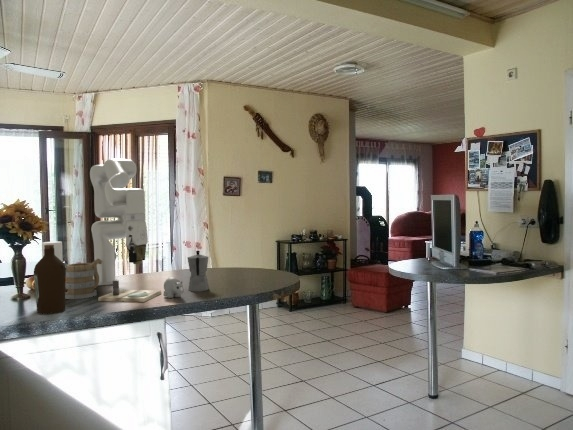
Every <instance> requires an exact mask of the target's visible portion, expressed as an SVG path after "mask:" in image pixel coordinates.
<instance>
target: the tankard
mask: <svg viewBox="0 0 573 430" xmlns="http://www.w3.org/2000/svg"><path fill="white" fill-rule="evenodd" d="M97 264H102V260H100V259H96V260H94V261H92V262H80V263H79V262H78V263H77V262H76V263H70V264H67V265H66V284H65V290H66V291H67V292H66V291H65V300H72V299H75V300H83V299H84V298H86V299H90V298H93V296H94V297H97V295H98V293H97V289H96V288H98V286H99V285H98V283H99V275H98V272H97ZM93 276H94V279H93ZM89 297H90V298H89ZM84 300H85V299H84Z"/></svg>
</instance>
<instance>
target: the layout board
mask: <svg viewBox="0 0 573 430" xmlns="http://www.w3.org/2000/svg"><path fill="white" fill-rule="evenodd" d="M118 280H119V279H117V280H115V281H113V284H112V291H111V292H110V293H107V294H104V295H101V296H99V297H98V300H97V301H98V302H122V301H124V302H126V303H127V302H128V303H130V302H132V303H134V302H135V303H137V302H139V303H144V302H147V301H149V300H151V299H152V298H156V297H157V296H159V295H161V294H162V290H158V289H157V290H156V289H151V290H150V289H120V282H119V281H120V280H119V281H118Z"/></svg>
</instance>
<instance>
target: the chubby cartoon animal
mask: <svg viewBox="0 0 573 430" xmlns="http://www.w3.org/2000/svg"><path fill="white" fill-rule="evenodd" d="M163 289H164V290H163V297H165V298H166V297H167V299H173V298H180V297H181V296H182V295H183V294H185V290H184V285H183V280H180V279H179V278H177V277H173V276H170V277H168V278H166V279H165V281H164V283H163Z"/></svg>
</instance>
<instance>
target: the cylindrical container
mask: <svg viewBox="0 0 573 430" xmlns="http://www.w3.org/2000/svg"><path fill="white" fill-rule="evenodd" d="M44 245H54V254H55V256H56V257H57V258H59V259H60V260H61V261H62V262H63V241H44V242H41V253H42V254H41V255H42V256H41V259H42V258H43V256H44V249H45V247H44ZM63 263H64V262H63Z"/></svg>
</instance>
